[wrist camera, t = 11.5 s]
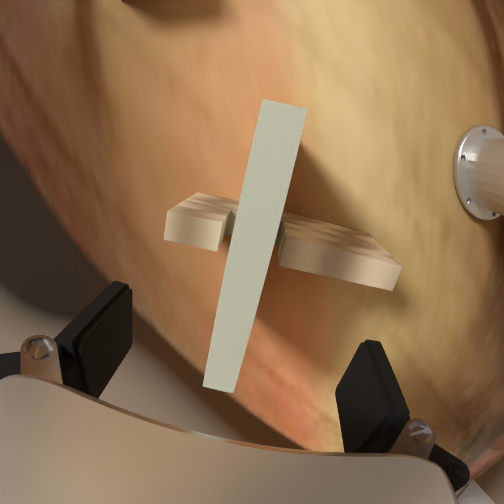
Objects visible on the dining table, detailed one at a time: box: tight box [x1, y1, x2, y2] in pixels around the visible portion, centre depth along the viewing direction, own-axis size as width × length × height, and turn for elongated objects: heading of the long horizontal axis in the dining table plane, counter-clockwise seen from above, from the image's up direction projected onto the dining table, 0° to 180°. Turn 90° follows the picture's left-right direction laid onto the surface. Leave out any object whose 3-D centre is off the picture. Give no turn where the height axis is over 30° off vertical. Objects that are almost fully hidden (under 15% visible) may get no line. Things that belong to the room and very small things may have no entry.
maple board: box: [164, 192, 402, 291], centre depth 28 cm, size 20×2×10 cm, turn 77°
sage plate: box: [203, 99, 307, 393], centre depth 25 cm, size 20×2×16 cm, turn 167°
